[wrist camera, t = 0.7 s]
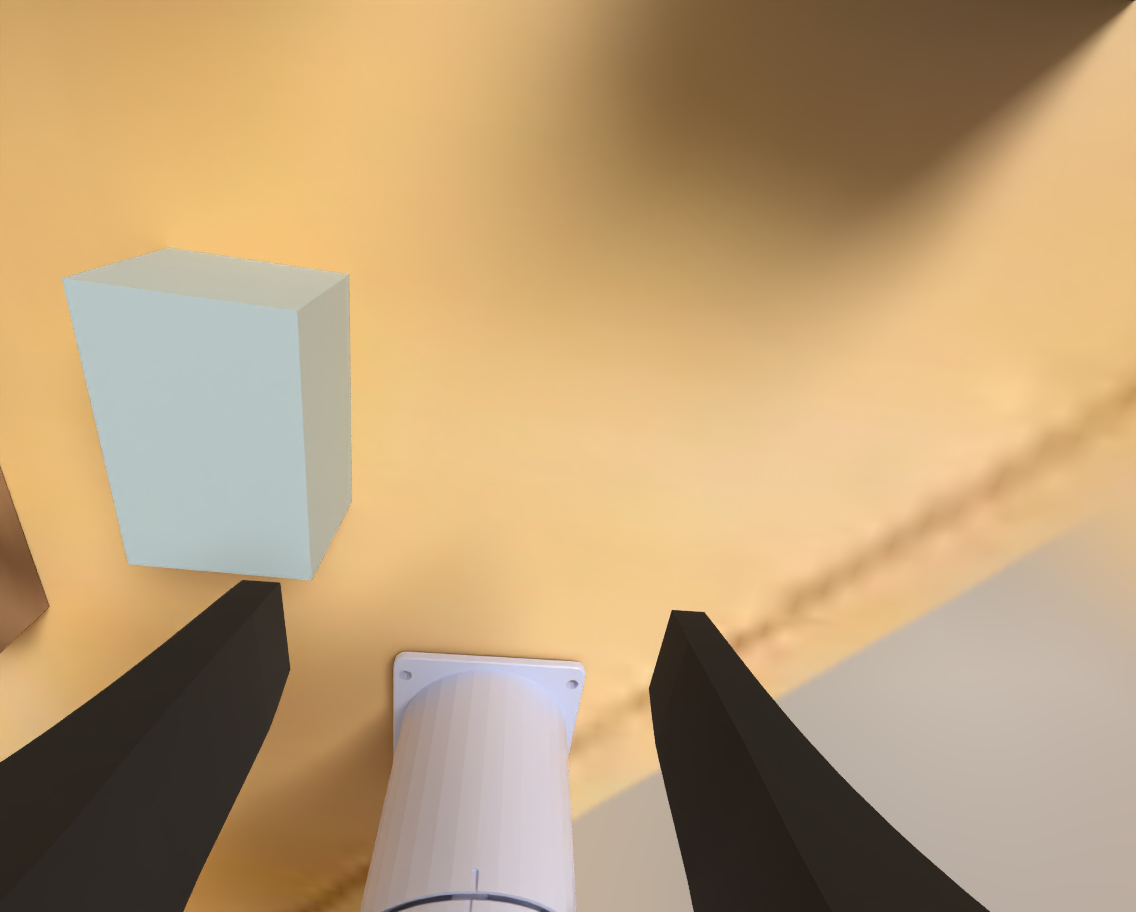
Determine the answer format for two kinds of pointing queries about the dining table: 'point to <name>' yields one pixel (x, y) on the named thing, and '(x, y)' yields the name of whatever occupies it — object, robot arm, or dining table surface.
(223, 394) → the block
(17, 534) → the board
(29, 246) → the dining table surface
